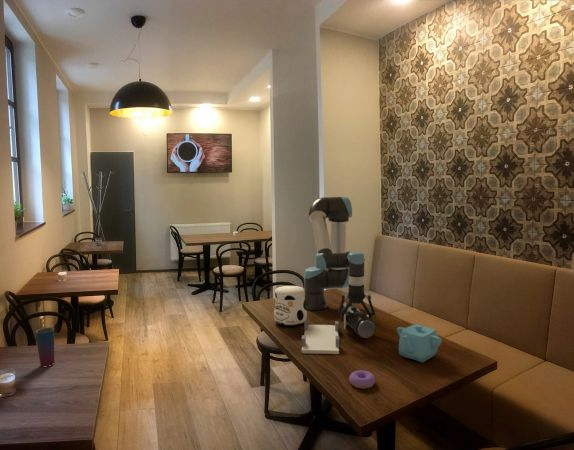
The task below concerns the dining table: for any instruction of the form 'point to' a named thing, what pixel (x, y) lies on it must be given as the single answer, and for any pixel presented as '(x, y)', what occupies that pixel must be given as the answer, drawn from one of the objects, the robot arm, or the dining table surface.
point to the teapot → (418, 342)
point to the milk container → (290, 305)
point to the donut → (362, 379)
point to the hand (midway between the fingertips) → (356, 328)
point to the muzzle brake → (359, 321)
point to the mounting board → (320, 339)
